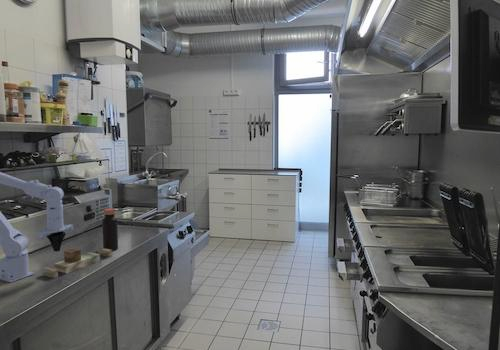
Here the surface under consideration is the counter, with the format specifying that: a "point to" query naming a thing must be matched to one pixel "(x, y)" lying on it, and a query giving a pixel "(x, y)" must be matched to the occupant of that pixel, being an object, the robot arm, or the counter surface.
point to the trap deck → (76, 263)
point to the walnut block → (72, 255)
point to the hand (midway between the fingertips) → (56, 250)
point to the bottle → (110, 230)
